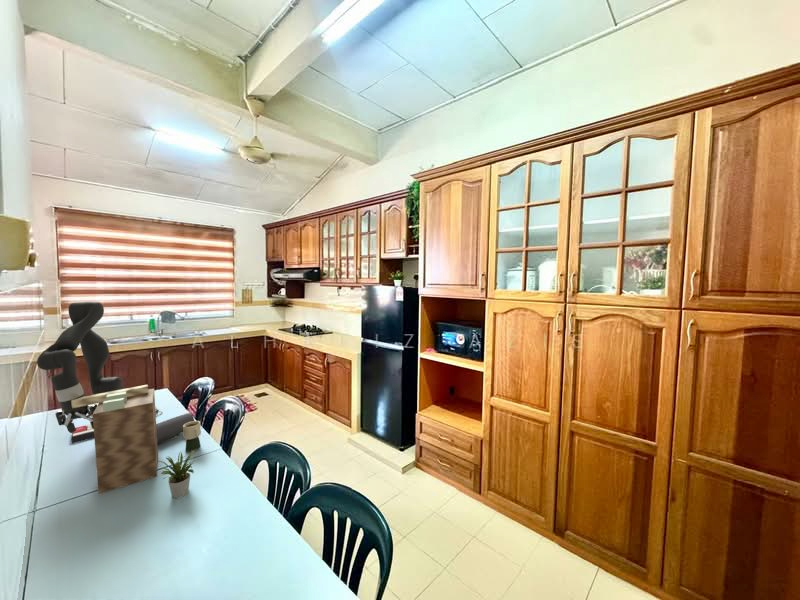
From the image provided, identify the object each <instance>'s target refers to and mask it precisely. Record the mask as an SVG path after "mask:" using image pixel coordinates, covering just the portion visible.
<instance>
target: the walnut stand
mask: <svg viewBox="0 0 800 600" xmlns="http://www.w3.org/2000/svg"><path fill="white" fill-rule="evenodd" d="M124 405H125V406H124V408H122V409H117V410H112V411H106V412H103V402H101V403H97V407H96V409H95V411H94V413H93V426H94V438H93V439H94V451H95V463H96V464H95V465H96V477H97V479H96V480H97V490H98V491H97V493H98V495H100V494H103V493H107V492H110V491H113V490H117V489H119V488H123V487H126V486H130V485H132V484H136V483H139V482H143V481H145V480H148V479H152V478H155V477H158V467H159V466H158V464H159V462H158V461H159V448H158V447H159V446H158V445H159V444H158V443H157V428H156V424H157V414H156V413H157V411H155V407H156V398H155V388H148V393H145V394H140V395H135V396H130V397H127V400H126V402H124ZM154 461H157V462H154Z"/></svg>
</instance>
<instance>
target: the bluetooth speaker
mask: <svg viewBox="0 0 800 600" xmlns="http://www.w3.org/2000/svg"><path fill="white" fill-rule="evenodd" d="M192 421H195V418H194V415H193V414H192V413H191V412H188V413H184V414H181V415H178V416H175V417H171V418H169V419H166V420H164V421H160V422H158V423H156V428H157V445H159V444H162V443H165V442H168V441H170V440H172V439H175V438H177V437H179V436H180V435H181V433H182V434H183V425H184V424H186V423H188V422H192Z"/></svg>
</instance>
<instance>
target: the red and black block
mask: <svg viewBox="0 0 800 600" xmlns="http://www.w3.org/2000/svg"><path fill="white" fill-rule="evenodd" d="M75 428H76V431H74V432H73V433H71V444H76V443H80V442H83V441H87V440H91V439H94V429H92V426H91V424H87V425H86V424H85V425H82V426H77V427H75Z"/></svg>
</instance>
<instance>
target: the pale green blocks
mask: <svg viewBox="0 0 800 600" xmlns="http://www.w3.org/2000/svg"><path fill="white" fill-rule="evenodd" d="M126 400H127V393H126V392H120V393H114V394H108V395H107V396H106V401H104V402H103V412H106V411H112V410H117V409H122V408H124V406H125V405H124V402H126Z"/></svg>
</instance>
